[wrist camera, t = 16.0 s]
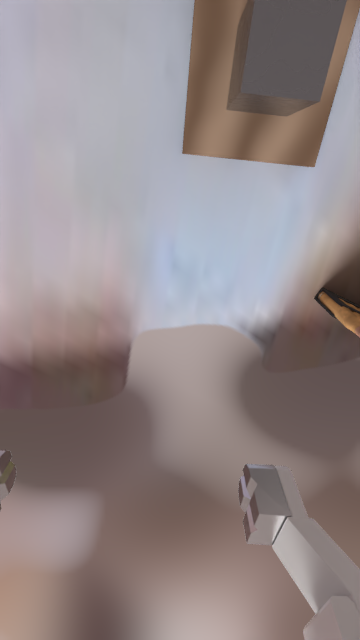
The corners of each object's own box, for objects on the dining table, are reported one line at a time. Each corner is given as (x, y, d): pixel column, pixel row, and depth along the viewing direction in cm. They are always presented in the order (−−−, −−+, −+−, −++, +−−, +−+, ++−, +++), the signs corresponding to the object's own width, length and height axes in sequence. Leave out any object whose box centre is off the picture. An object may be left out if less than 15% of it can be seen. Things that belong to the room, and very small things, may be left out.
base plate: (182, 153, 30) (182, 153, 29) (197, -40, 23) (199, -52, 22) (308, 166, 31) (314, 166, 29) (359, -19, 24) (370, -29, 23)
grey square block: (226, 109, 27) (240, 92, 21) (237, 24, 24) (258, -28, 18) (286, 116, 27) (319, 101, 21) (305, 32, 24) (351, -16, 18)
